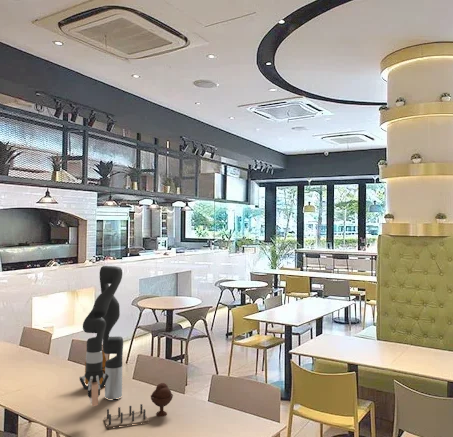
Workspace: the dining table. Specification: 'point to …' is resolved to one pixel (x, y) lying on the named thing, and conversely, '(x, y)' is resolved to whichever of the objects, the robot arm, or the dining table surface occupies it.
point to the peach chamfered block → (94, 394)
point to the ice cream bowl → (161, 398)
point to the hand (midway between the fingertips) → (93, 396)
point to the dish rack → (125, 418)
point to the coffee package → (102, 368)
